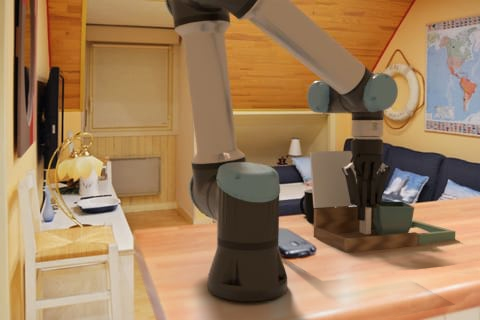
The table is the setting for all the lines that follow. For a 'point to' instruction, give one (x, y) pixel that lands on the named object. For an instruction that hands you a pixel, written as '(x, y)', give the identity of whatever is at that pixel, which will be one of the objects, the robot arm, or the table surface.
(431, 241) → the potting tray
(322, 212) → the brown wooden box
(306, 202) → the mug
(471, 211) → the table surface
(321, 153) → the lid
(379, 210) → the flower pot
